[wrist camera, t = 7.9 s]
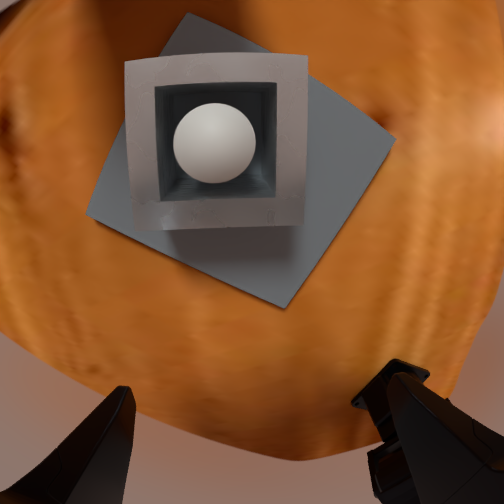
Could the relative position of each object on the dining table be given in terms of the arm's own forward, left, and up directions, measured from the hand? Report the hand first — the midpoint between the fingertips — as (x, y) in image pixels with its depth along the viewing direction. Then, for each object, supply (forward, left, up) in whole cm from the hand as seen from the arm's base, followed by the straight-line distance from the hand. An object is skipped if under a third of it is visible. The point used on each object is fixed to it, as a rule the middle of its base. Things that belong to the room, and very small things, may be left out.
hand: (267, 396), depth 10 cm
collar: (+5, -6, -11) cm, 13 cm away
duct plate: (+3, -5, -12) cm, 13 cm away
